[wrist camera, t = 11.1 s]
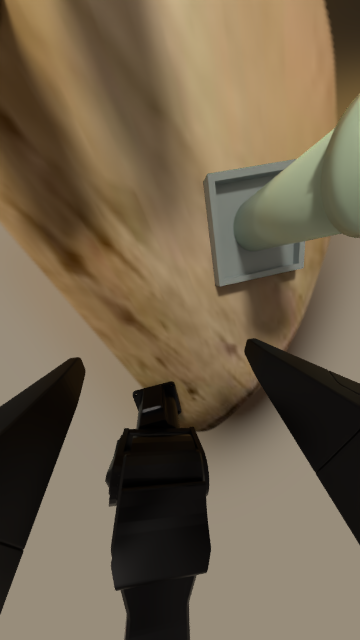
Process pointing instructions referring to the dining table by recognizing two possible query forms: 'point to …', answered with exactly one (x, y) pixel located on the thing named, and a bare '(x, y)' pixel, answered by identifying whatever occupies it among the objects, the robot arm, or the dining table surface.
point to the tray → (222, 206)
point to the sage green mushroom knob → (308, 193)
